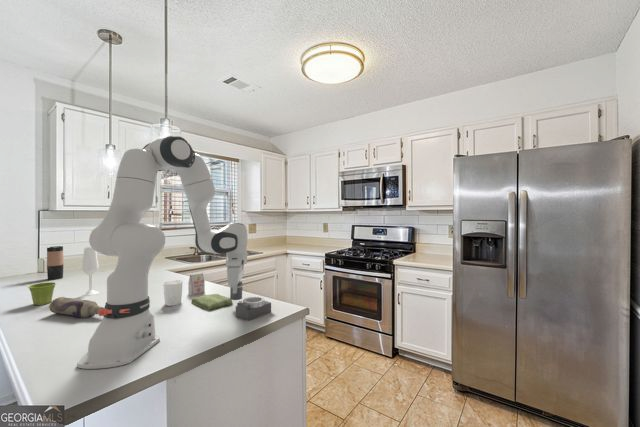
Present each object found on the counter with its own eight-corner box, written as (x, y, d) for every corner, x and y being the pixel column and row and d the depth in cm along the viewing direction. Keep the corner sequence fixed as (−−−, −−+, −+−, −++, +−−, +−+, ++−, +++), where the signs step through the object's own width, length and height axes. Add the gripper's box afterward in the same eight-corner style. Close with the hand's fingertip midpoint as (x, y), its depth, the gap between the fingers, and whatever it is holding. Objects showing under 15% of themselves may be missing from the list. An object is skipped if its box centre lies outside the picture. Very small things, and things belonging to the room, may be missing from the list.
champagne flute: (102, 292, 152) (101, 246, 152) (90, 295, 146) (90, 248, 145) (90, 291, 153) (90, 246, 153) (78, 295, 146) (78, 248, 146)
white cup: (174, 307, 129) (174, 284, 129) (159, 305, 130) (159, 283, 130) (186, 301, 136) (186, 280, 136) (171, 300, 138) (171, 279, 138)
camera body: (248, 320, 113) (248, 305, 112) (235, 316, 118) (235, 300, 118) (271, 312, 122) (271, 297, 122) (258, 308, 127) (258, 294, 127)
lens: (241, 299, 124) (241, 283, 124) (228, 300, 124) (229, 283, 124) (243, 296, 130) (243, 280, 130) (231, 297, 129) (231, 280, 129)
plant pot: (57, 303, 134) (57, 284, 134) (28, 308, 127) (28, 288, 127) (55, 299, 140) (55, 281, 140) (27, 303, 134) (27, 284, 133)
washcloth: (215, 297, 145) (215, 290, 145) (234, 305, 133) (234, 298, 133) (189, 303, 135) (189, 296, 135) (207, 312, 123) (206, 305, 123)
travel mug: (65, 278, 183) (65, 246, 183) (49, 280, 177) (49, 248, 176) (61, 276, 187) (60, 245, 187) (45, 279, 181) (44, 247, 180)
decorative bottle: (47, 316, 118) (47, 299, 118) (68, 310, 126) (68, 294, 126) (94, 322, 111) (94, 305, 111) (113, 315, 119) (113, 299, 119)
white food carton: (188, 294, 149) (188, 274, 149) (201, 291, 154) (201, 272, 154) (191, 295, 146) (191, 275, 146) (204, 292, 151) (204, 273, 151)
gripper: (233, 256, 137) (232, 285, 137) (224, 263, 117) (224, 297, 116) (247, 256, 138) (246, 285, 137) (240, 263, 117) (240, 297, 117)
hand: (236, 291), depth 127 cm, fingers closed on lens, 5 cm apart
